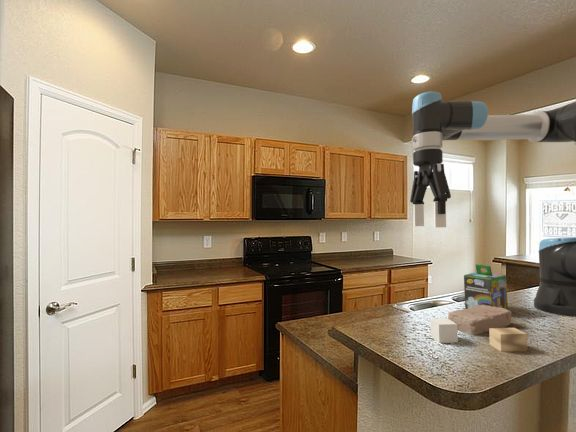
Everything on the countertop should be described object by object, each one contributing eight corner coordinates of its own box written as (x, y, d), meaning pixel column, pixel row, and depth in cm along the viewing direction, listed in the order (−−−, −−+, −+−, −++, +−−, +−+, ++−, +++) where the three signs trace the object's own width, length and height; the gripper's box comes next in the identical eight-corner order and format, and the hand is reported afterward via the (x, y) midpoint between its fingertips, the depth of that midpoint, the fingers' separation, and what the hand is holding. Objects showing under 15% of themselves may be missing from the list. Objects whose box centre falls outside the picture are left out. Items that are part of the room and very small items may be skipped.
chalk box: (508, 311, 103) (507, 265, 103) (492, 315, 99) (491, 267, 99) (479, 304, 111) (478, 261, 111) (463, 308, 107) (462, 264, 107)
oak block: (514, 344, 77) (514, 327, 77) (527, 351, 73) (526, 333, 73) (489, 345, 77) (489, 328, 77) (501, 352, 73) (500, 334, 73)
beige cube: (448, 336, 83) (447, 318, 83) (457, 342, 78) (457, 324, 78) (430, 336, 83) (430, 318, 83) (439, 343, 78) (438, 324, 78)
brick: (474, 337, 82) (474, 318, 82) (445, 327, 90) (445, 310, 90) (512, 327, 90) (512, 310, 90) (483, 319, 97) (482, 303, 97)
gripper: (398, 159, 102) (399, 225, 102) (433, 139, 77) (435, 228, 77) (422, 158, 102) (423, 225, 102) (465, 139, 77) (467, 227, 77)
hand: (428, 226), depth 89 cm, fingers open, 13 cm apart
